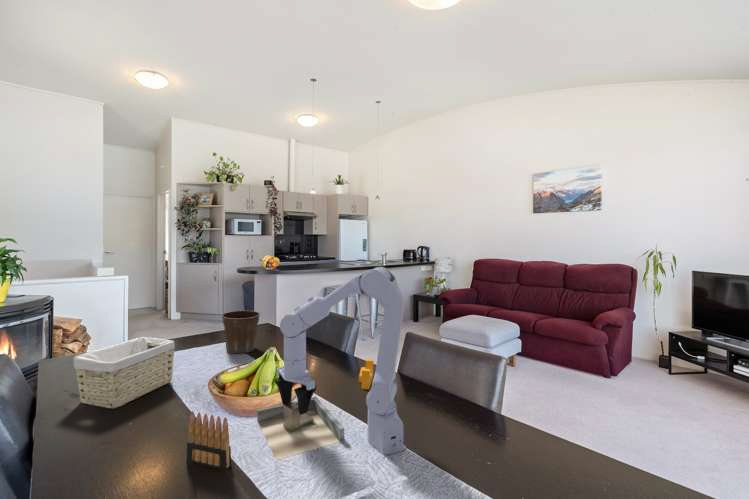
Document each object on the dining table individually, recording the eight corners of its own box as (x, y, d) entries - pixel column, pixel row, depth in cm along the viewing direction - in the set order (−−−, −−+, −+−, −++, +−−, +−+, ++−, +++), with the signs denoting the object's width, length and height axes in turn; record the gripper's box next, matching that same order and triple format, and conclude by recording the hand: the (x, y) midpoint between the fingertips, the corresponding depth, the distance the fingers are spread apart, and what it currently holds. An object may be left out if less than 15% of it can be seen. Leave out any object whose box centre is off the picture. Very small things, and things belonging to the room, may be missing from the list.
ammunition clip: (231, 468, 82) (231, 415, 81) (226, 474, 80) (226, 419, 80) (192, 459, 85) (192, 408, 84) (186, 464, 83) (185, 412, 83)
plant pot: (267, 348, 168) (268, 313, 167) (237, 358, 154) (237, 320, 153) (244, 342, 176) (244, 308, 176) (213, 351, 163) (213, 314, 162)
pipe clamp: (361, 375, 137) (361, 358, 137) (373, 376, 137) (373, 359, 137) (356, 389, 125) (356, 370, 125) (369, 389, 125) (369, 371, 125)
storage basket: (111, 413, 106) (110, 362, 106) (70, 404, 111) (69, 356, 110) (177, 381, 129) (177, 340, 129) (142, 375, 134) (141, 335, 133)
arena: (344, 443, 92) (344, 428, 92) (276, 463, 84) (276, 446, 84) (315, 410, 110) (316, 396, 110) (257, 423, 101) (257, 409, 101)
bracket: (292, 432, 95) (292, 409, 95) (283, 426, 98) (283, 404, 98) (313, 422, 101) (313, 401, 100) (304, 417, 103) (305, 396, 103)
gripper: (324, 360, 96) (324, 412, 96) (291, 348, 105) (291, 395, 106) (301, 367, 90) (301, 422, 91) (269, 354, 100) (270, 403, 101)
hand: (294, 408), depth 98 cm, fingers open, 7 cm apart
